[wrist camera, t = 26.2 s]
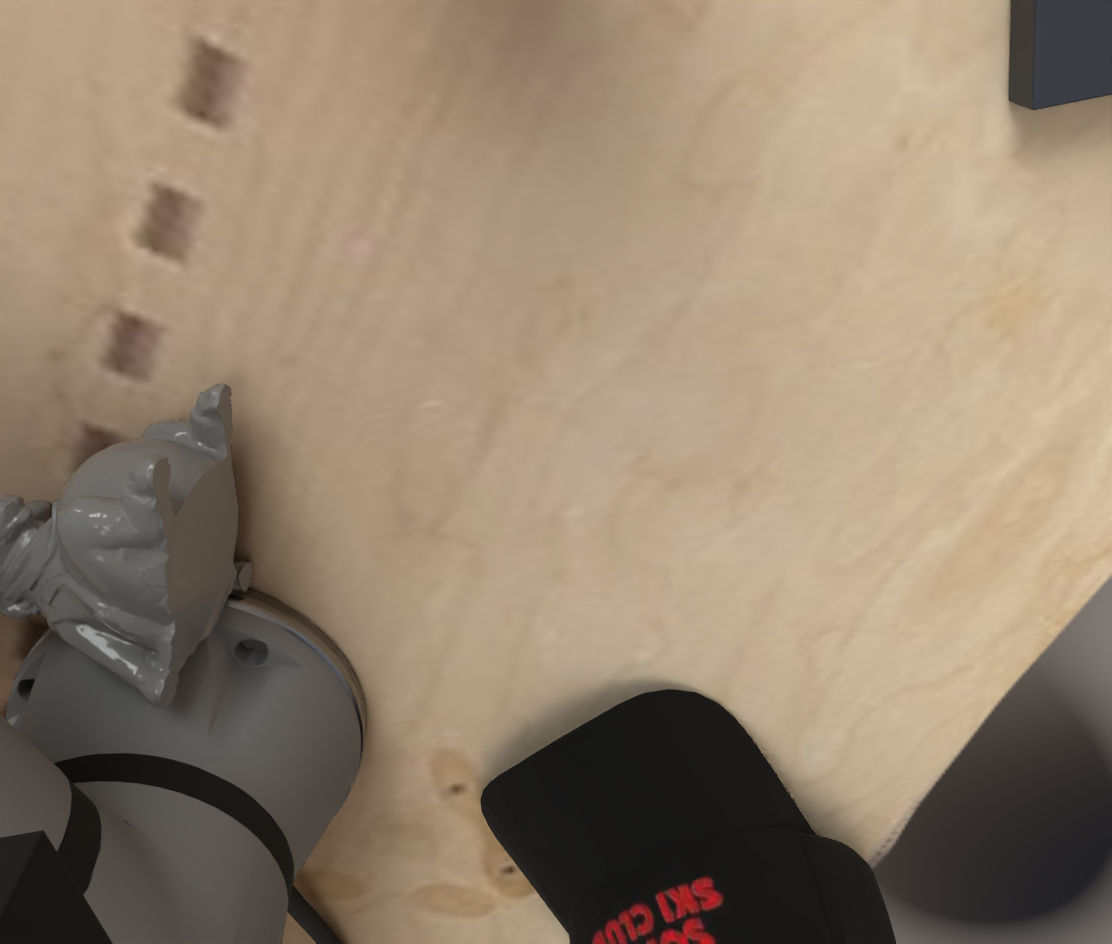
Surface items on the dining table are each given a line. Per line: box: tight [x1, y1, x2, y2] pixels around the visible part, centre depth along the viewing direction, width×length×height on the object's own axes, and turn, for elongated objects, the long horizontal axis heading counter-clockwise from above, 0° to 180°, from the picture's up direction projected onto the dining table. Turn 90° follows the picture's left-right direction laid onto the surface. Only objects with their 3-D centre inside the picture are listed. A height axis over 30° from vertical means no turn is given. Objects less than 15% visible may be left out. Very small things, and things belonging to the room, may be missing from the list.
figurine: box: [0, 384, 253, 708], centre depth 38 cm, size 8×10×11 cm
